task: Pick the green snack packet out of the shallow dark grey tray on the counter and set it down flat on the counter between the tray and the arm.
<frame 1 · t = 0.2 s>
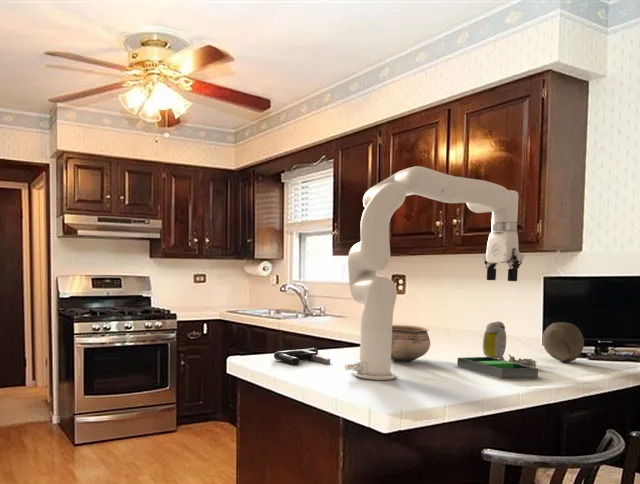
hand: (501, 280, 178), 31 cm above the table, tool pointing down, fingers open, 9 cm apart
grey lumpy piece: (522, 369, 189), on the table
dark grey tray: (495, 373, 179), on the table
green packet: (495, 371, 179), resting on dark grey tray
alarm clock: (495, 362, 201), on the table
cooking pot: (402, 361, 199), on the table
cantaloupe: (561, 361, 206), on the table
door handle: (305, 361, 193), on the table
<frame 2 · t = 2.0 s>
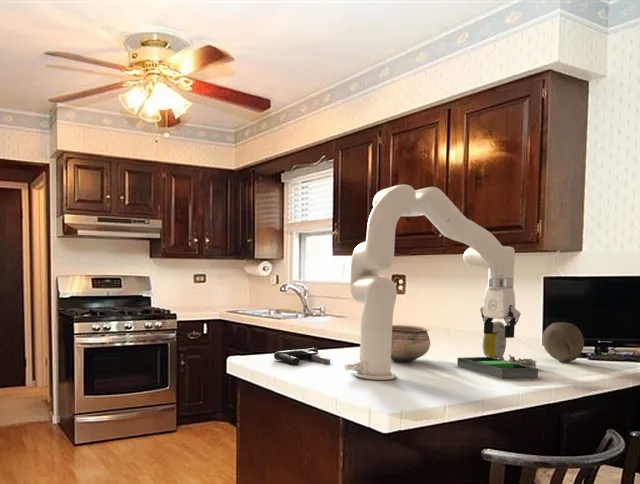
hand: (498, 335, 178), 13 cm above the table, tool pointing down, fingers open, 9 cm apart
nothing on the table moved.
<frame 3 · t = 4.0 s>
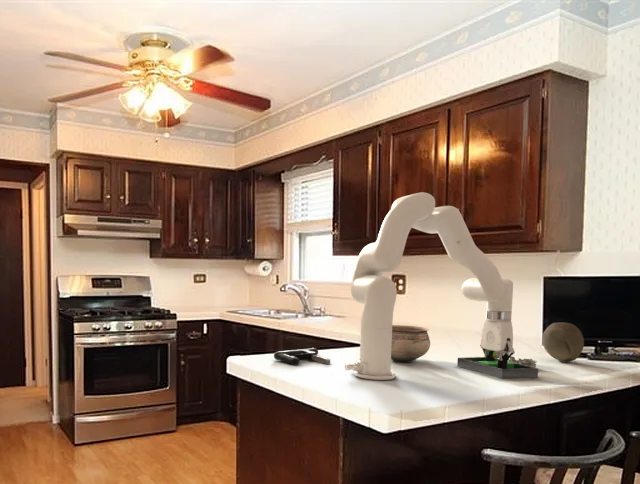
hand: (495, 370, 179), 1 cm above the table, tool pointing down, fingers closed on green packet, 5 cm apart
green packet: (495, 371, 179), point 1 cm above the table, touching gripper, dark grey tray
everything else where it was.
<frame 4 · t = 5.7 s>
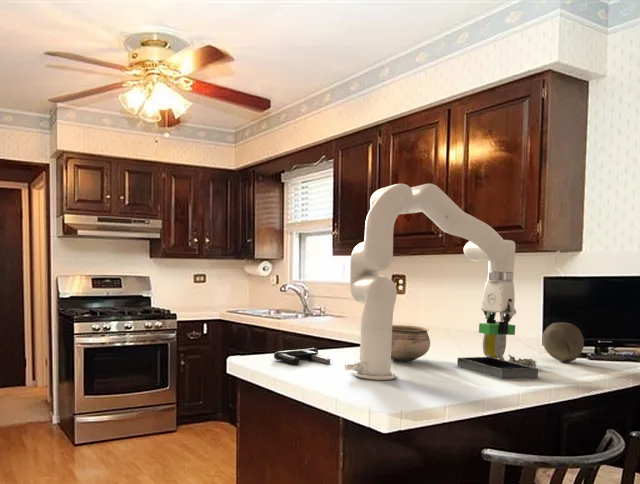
hand: (496, 332, 178), 14 cm above the table, tool pointing down, fingers closed on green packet, 5 cm apart
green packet: (496, 333, 178), point 13 cm above the table, touching gripper
everything else where it was.
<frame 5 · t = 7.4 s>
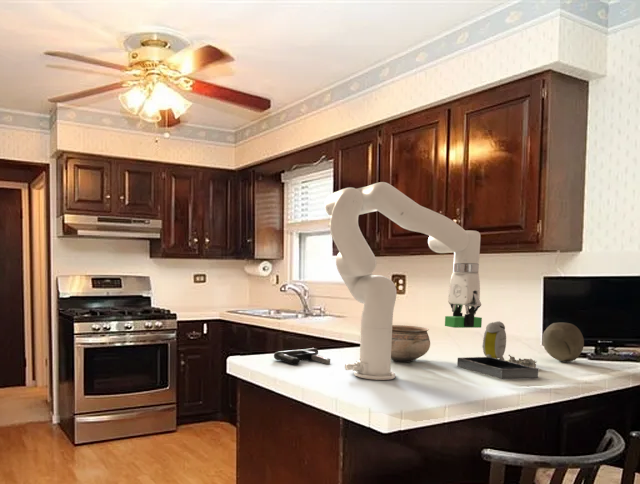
hand: (462, 325, 173), 16 cm above the table, tool pointing down, fingers closed on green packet, 5 cm apart
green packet: (462, 326, 174), point 16 cm above the table, touching gripper
everything else where it was.
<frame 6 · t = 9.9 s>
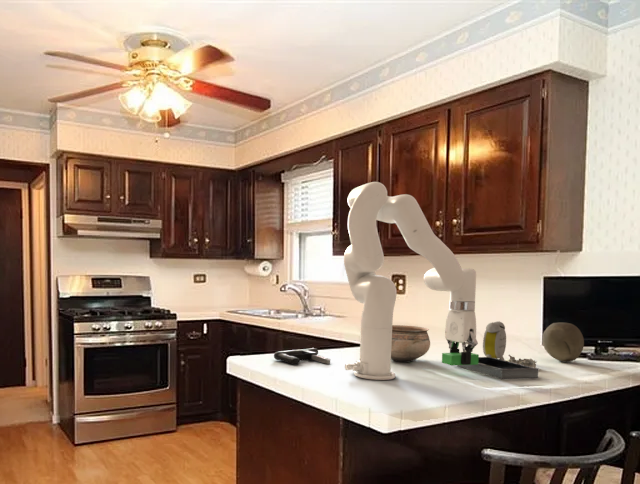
hand: (459, 362, 174), 4 cm above the table, tool pointing down, fingers closed on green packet, 5 cm apart
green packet: (459, 363, 174), point 4 cm above the table, touching gripper
everything else where it was.
when the fingers open (0 cm above the table, at t = 11.3 s): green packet stays where it is, on the table.
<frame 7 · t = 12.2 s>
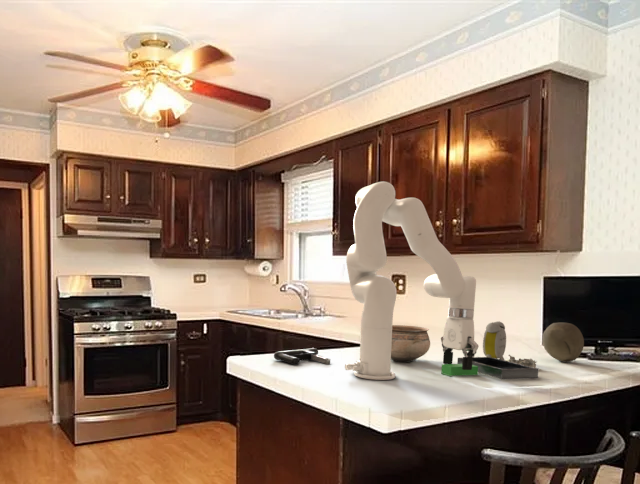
hand: (457, 366, 174), 3 cm above the table, tool pointing down, fingers open, 9 cm apart
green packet: (459, 375, 174), on the table
everything else where it was.
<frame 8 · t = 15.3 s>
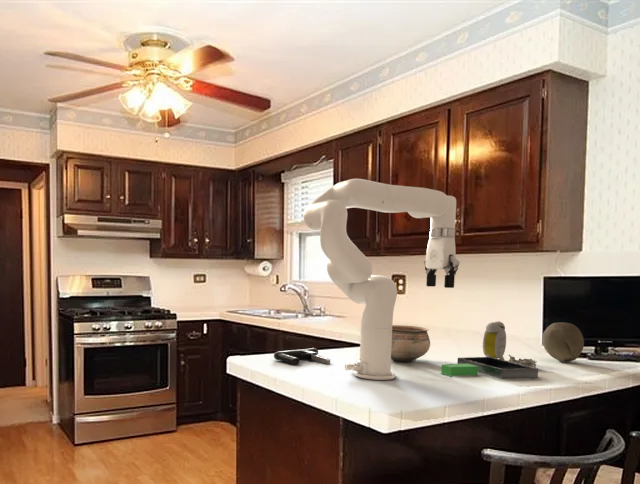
hand: (439, 287, 176), 28 cm above the table, tool pointing down, fingers open, 9 cm apart
nothing on the table moved.
at the end: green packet inside the target area (0.3 cm from its centre), on the table; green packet touching table; the gripper is holding nothing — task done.
